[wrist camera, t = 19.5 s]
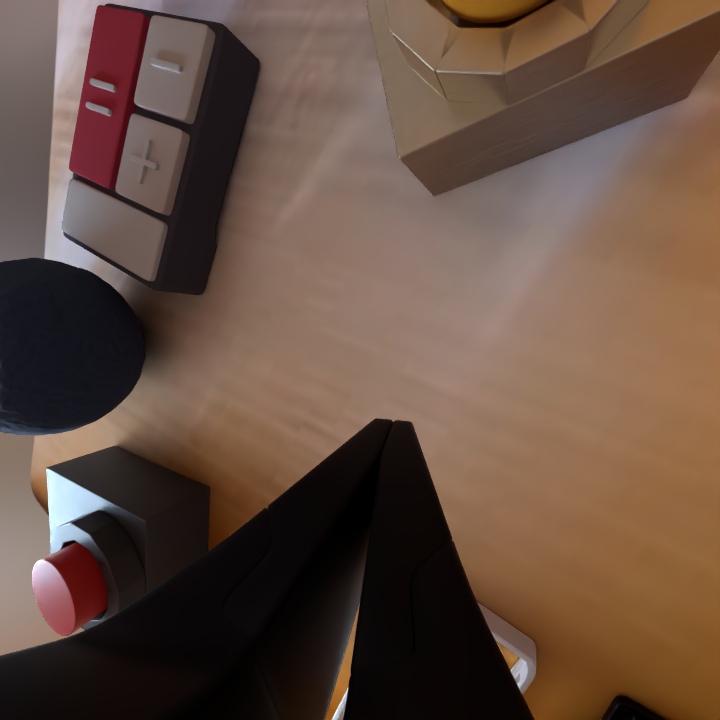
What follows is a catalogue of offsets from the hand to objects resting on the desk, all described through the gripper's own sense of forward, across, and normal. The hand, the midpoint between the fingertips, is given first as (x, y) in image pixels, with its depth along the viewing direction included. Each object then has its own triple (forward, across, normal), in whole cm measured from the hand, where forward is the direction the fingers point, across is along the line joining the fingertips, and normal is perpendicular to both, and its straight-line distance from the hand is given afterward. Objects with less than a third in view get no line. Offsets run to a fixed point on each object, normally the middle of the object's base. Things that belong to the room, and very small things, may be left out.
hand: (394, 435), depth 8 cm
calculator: (+19, +18, -7) cm, 27 cm away
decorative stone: (+16, +25, +6) cm, 30 cm away
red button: (+3, +22, +18) cm, 29 cm away
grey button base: (+10, +23, +20) cm, 32 cm away
